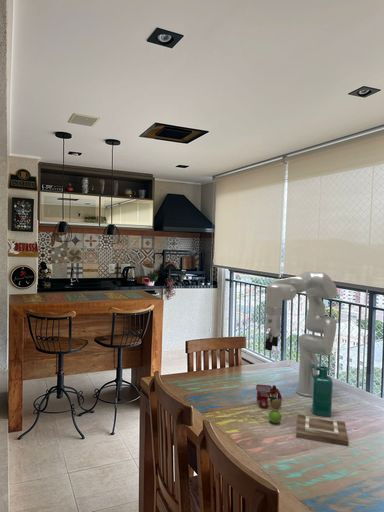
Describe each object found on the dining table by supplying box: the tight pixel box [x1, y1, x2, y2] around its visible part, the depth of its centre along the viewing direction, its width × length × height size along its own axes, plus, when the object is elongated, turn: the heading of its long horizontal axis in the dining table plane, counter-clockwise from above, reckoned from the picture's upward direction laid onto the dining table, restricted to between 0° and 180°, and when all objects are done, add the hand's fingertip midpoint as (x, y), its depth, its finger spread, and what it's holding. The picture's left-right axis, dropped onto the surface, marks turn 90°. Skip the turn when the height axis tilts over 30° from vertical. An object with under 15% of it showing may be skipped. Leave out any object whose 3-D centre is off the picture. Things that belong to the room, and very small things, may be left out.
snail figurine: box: [267, 396, 282, 424], centre depth 171 cm, size 5×6×12 cm
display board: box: [295, 414, 349, 447], centre depth 164 cm, size 18×20×3 cm
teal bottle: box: [311, 364, 333, 418], centre depth 183 cm, size 10×8×22 cm
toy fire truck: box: [255, 383, 283, 409], centre depth 188 cm, size 7×12×10 cm, turn 84°
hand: (271, 347), depth 179 cm, fingers open, 9 cm apart
